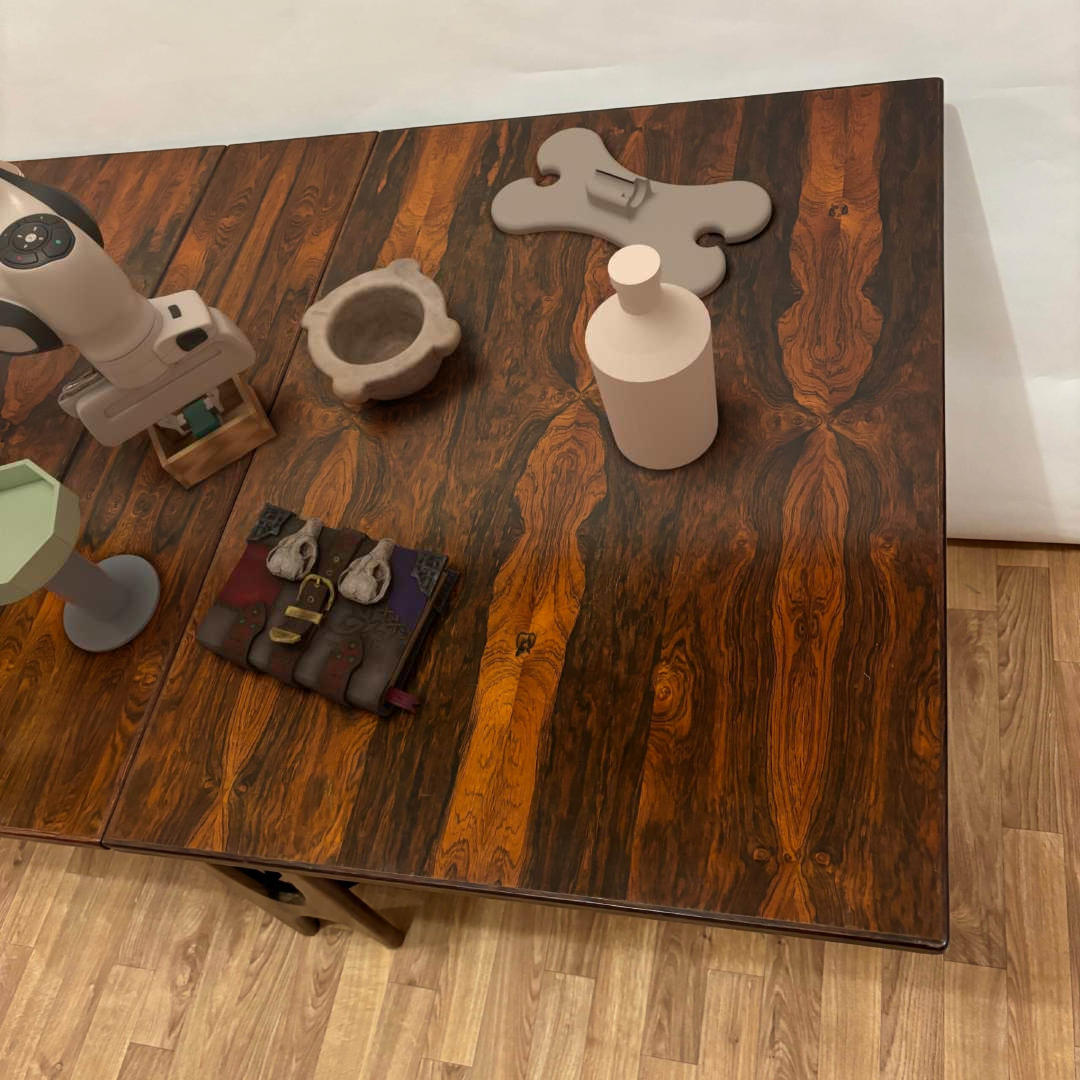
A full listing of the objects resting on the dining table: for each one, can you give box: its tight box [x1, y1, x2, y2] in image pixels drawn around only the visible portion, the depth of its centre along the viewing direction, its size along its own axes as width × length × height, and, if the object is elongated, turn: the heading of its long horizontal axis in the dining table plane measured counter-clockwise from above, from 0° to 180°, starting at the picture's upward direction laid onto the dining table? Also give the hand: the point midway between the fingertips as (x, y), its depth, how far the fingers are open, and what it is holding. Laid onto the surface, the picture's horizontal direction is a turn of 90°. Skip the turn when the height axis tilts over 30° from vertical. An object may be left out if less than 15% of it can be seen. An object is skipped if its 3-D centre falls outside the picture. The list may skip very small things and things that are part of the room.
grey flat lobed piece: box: [490, 127, 773, 300], centre depth 115 cm, size 19×34×5 cm, turn 52°
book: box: [194, 502, 461, 717], centre depth 97 cm, size 26×18×7 cm
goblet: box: [0, 458, 161, 653], centre depth 99 cm, size 14×14×20 cm
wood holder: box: [146, 372, 277, 490], centre depth 113 cm, size 13×9×6 cm
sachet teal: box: [183, 398, 222, 440], centre depth 112 cm, size 3×4×2 cm, turn 29°
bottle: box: [584, 245, 719, 470], centre depth 91 cm, size 12×12×25 cm
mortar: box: [300, 257, 462, 405], centre depth 110 cm, size 17×17×9 cm
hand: (203, 419), depth 112 cm, fingers closed on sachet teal, 3 cm apart
